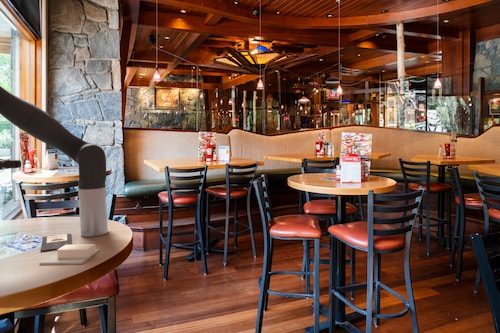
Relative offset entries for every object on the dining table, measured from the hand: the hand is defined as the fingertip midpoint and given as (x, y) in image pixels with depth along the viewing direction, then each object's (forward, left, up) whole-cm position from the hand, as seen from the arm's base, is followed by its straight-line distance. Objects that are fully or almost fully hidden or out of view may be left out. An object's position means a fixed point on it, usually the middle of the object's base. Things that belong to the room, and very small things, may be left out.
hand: (19, 164), depth 107 cm
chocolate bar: (-16, +1, -29) cm, 33 cm away
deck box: (0, +11, -26) cm, 28 cm away
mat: (0, +14, -28) cm, 31 cm away
